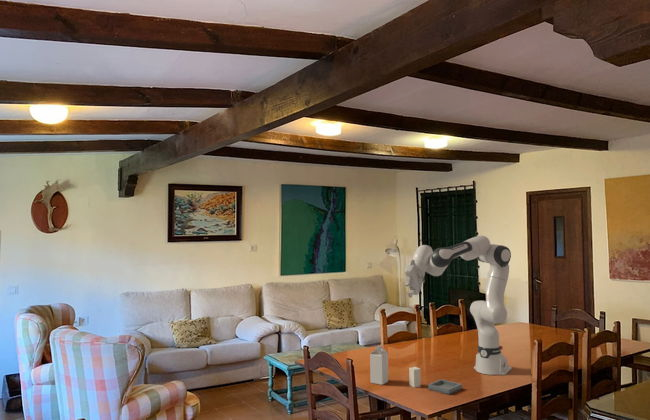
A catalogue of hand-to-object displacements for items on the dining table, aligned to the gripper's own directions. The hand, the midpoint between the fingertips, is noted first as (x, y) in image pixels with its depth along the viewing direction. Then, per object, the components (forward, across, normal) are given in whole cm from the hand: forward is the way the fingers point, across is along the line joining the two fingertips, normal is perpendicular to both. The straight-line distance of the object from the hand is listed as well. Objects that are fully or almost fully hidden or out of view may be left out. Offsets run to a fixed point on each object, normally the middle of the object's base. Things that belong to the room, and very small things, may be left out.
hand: (408, 291), depth 251 cm
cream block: (+32, +36, -8) cm, 49 cm away
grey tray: (+30, +36, -23) cm, 52 cm away
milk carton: (+36, +36, +10) cm, 52 cm away
